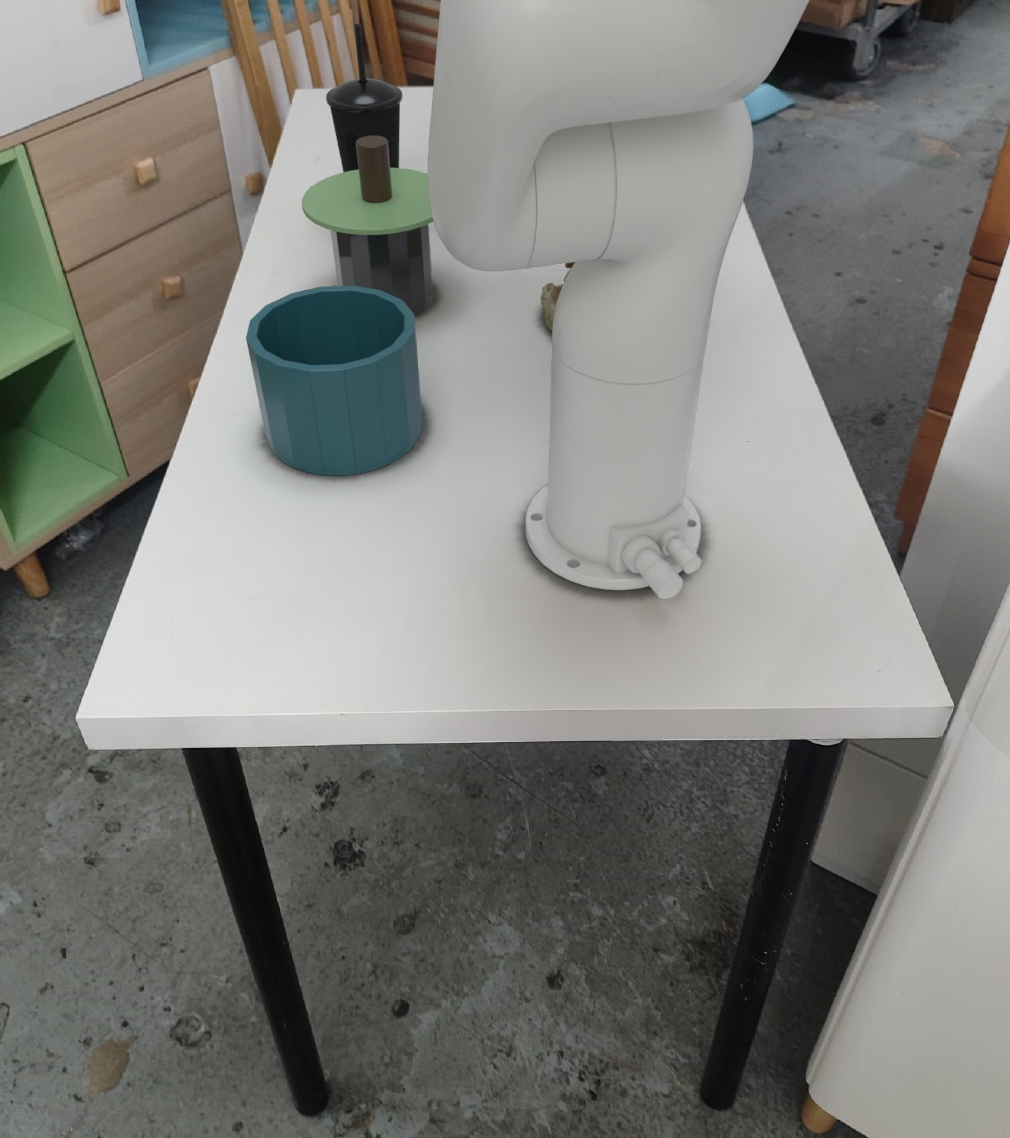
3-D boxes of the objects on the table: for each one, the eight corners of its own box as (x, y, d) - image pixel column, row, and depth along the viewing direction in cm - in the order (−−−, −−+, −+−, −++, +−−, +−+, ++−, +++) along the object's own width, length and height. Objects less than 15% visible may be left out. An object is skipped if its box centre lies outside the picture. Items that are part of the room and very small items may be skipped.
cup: (447, 308, 99) (443, 218, 93) (359, 329, 96) (348, 238, 90) (412, 269, 105) (405, 181, 98) (328, 288, 102) (316, 199, 96)
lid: (476, 222, 92) (474, 153, 88) (331, 253, 87) (322, 183, 83) (418, 168, 101) (414, 104, 97) (284, 194, 96) (274, 128, 92)
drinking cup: (420, 232, 111) (407, 30, 97) (352, 244, 109) (328, 40, 95) (399, 204, 116) (384, 9, 102) (333, 215, 114) (309, 18, 100)
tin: (446, 449, 82) (440, 344, 76) (294, 493, 78) (275, 387, 72) (389, 372, 90) (379, 272, 84) (249, 409, 86) (227, 307, 80)
